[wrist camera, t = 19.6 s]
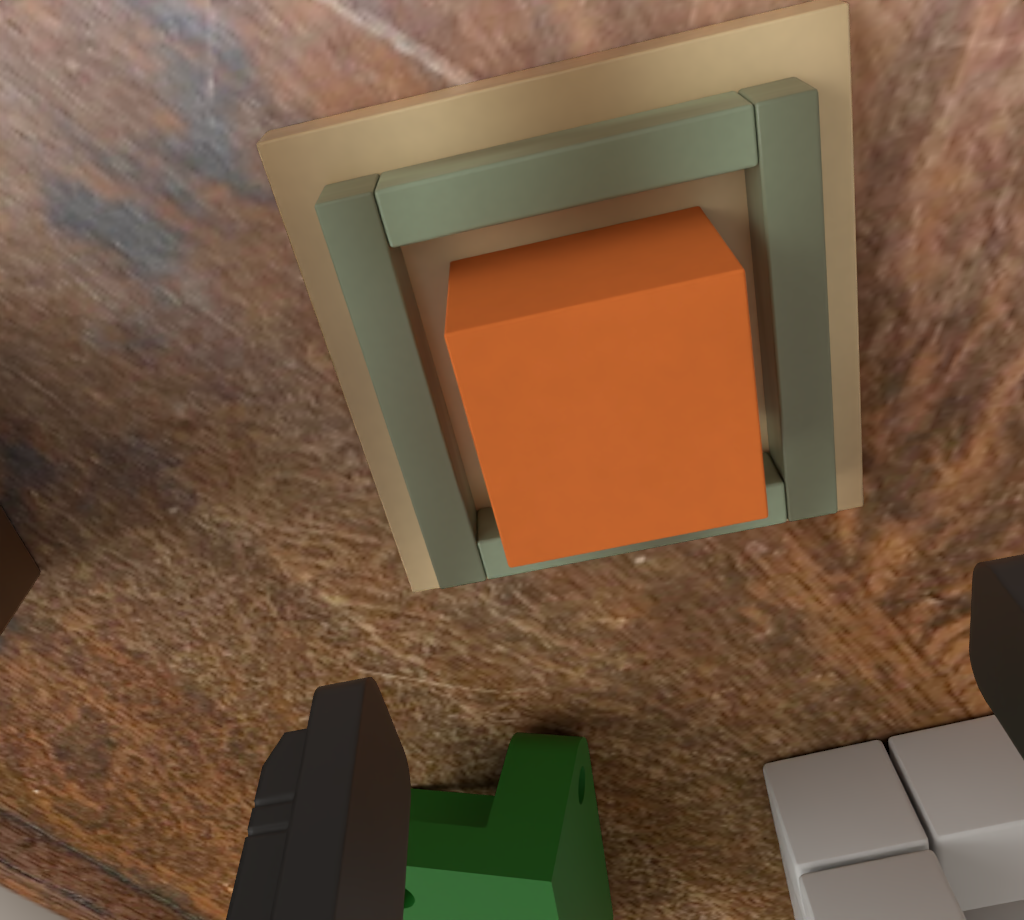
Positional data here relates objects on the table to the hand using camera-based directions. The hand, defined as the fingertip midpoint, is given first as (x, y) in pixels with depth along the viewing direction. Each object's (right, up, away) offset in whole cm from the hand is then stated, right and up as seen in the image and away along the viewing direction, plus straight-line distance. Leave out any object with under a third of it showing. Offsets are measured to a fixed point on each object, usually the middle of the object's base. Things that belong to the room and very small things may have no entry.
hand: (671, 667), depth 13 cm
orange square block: (0, +5, +9) cm, 11 cm away
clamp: (-3, -10, +20) cm, 22 cm away
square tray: (0, +6, +10) cm, 12 cm away
